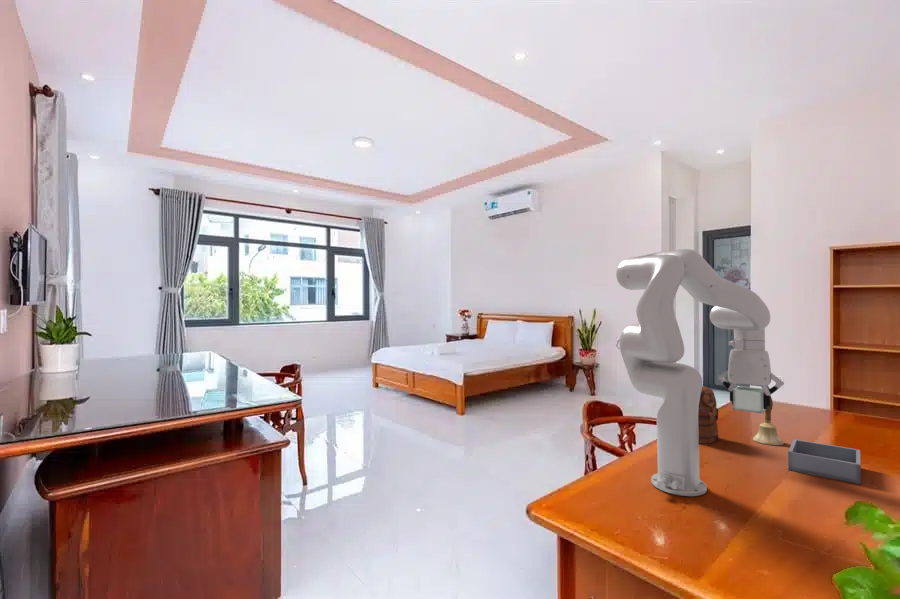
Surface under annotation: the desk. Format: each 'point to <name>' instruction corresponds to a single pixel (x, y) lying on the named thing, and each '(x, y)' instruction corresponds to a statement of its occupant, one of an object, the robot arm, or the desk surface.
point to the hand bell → (768, 430)
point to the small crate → (748, 399)
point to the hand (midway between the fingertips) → (749, 405)
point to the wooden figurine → (707, 416)
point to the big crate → (825, 461)
